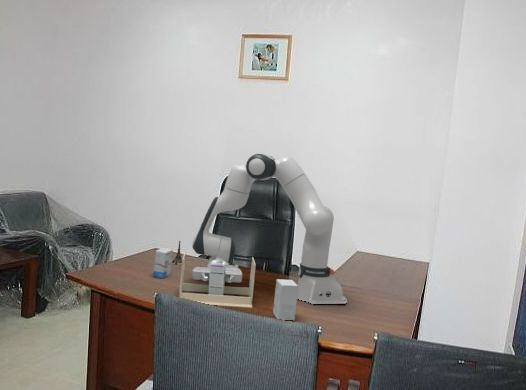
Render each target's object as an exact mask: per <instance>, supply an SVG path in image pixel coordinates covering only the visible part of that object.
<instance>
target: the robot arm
mask: <svg viewBox="0 0 526 390" xmlns="http://www.w3.org/2000/svg"><path fill="white" fill-rule="evenodd" d="M272 178H275V180H277V181H278V182H279V184H280V186H281V187H282V188H283V191H284V192H285V193H286V195H287V196H288V198H289V200H290V201H291V203H292V205H293V206H294V209H295V211H296V213H297V215H298V217H299V219H300V221H301V223H302V225H303V226H304V229H305V235H304V239H303V240H304V241H303V243H302V250H301V258H300V259H301V260H300V261H301V262H300V263H299V268H298V281H297V283H296V284H297V285H298V293H297V300H298V299H299V301H301V300H302V302H304V301H306V302H305V303H308V302H309V303H308V304H310V303H311V305H313V304H336V303H346V302H347V303H348V299H347V297H345V296H344V295H343V288H342V285H341V284H340V283H339V282H337V280H336V279H335V278H333V277H332V276H334V275H335V270H334V269H332V268H331V267H329V266H328V263H329V253H330V246H331V239H332V233H333V228H334V227H333V226H334V218H335V217H334V214H333V211H332V210H331V208H329V207H327V206H325V205H324V203H322V202H323V201H322V200H321V198H320V196H319V195H318V193H317V191H316V189H315V186H314V185H313V184H312V182H311V181H310V179H309V178H308V175H307V174H306V173H305V171H304V170H303V169H302V167H301V166H300V165H299V163H298V162H297V161H296V160H295V159H294V158H293V157H292V156H288V155H287V156H282V157H280V158H278V159H275V158H274V157H273V156H271V155H268V154H266V153H256V154H253V155H251V156H250V157H249V158H248V159H247V161H246V163H245V164H236V165H234V166H232V168H231V169H230V172H229V174H228V175H227V179H226V181H225V184H224V188H223V191H222V192H221V194H220V195H219V196H216V197H214V198H213V200H212V201H211V202H210V203H211V204H210V205H209V207H208V209H207V211H206V213H205V215H204V218H203V220H202V222H201V225H200V227H199V229H198V231H197V232H196V233H195V236H194V237H193V240H192V249H193V250H194V252H195V253H196V254H197V255H203V256H210V257H209V259H208V261H207V265H206V267H205V266H203V267H201V266H196V267H193V269H192V271H191V272H192V275H191V276H192V277H191V278H192V279H193V280H197V281H198V280H199V281H200V280H201V281H203V282H208V281H209V278H210V265H211V262H212V261H213V260H220V261H226V271H225V283H228V284H232V283H242V281H243V272H242V270H241V268H239V265H238V264H234V263H232V261H233V260H234V257H235V253H236V243H235V241H234V239H233V238H232V237H228V236H225V235H219V234H215V233H211V232H210V229H211V226H212V224H213V222H214V220H215V218H216V217H217V216H218V214H222V213H225V212H232V211H233V212H234V211H237V210H240V209H242V208H243V207H244V206H246V204H247V202H248V200H249V196H250V192H251V188H252V185H253V183H254V182H255V181H258V180H260V181H266V180H270V179H272ZM343 300H346V301H343Z"/></svg>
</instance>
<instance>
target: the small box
mask: <svg viewBox="0 0 526 390" xmlns="http://www.w3.org/2000/svg"><path fill="white" fill-rule="evenodd" d="M275 282H276V283H275V289H274V291H275V292H274V299H273V301H274V302H273V309H272V313H273V315H274V316H275V318H276V319H277V320H278V319H282V320H293V321H292V322H294V321H295V320H296V312H297V311H296V310H297V301H298V299H297V293H298V285H297V284H298V283H296V282H295V281H294V280H293V279H283V278H282V279H281V278H279V279H278V278H276V280H275Z"/></svg>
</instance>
